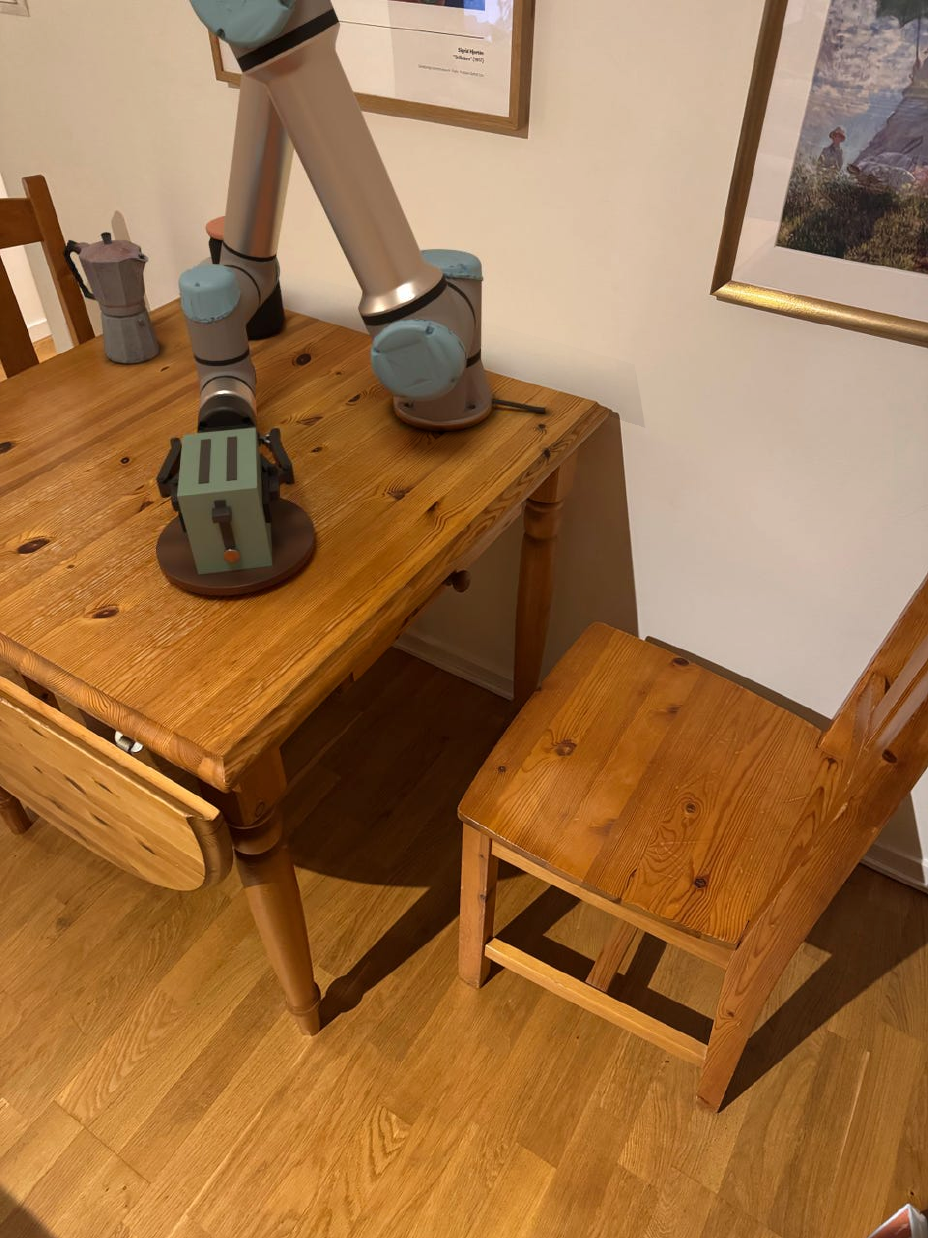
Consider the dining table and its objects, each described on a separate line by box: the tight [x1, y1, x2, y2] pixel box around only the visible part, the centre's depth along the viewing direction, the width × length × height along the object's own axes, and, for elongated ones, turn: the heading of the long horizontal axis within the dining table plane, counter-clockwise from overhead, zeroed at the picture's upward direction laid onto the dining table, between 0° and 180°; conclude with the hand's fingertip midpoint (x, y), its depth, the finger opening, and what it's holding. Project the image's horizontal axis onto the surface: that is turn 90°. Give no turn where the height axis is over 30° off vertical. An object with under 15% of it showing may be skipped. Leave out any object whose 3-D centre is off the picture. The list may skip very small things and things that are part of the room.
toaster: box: [155, 428, 316, 596], centre depth 102 cm, size 19×19×12 cm
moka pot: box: [62, 231, 161, 364], centre depth 141 cm, size 10×15×20 cm, turn 78°
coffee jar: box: [204, 215, 286, 341], centre depth 148 cm, size 11×11×18 cm
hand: (226, 517), depth 98 cm, fingers closed on toaster, 8 cm apart
